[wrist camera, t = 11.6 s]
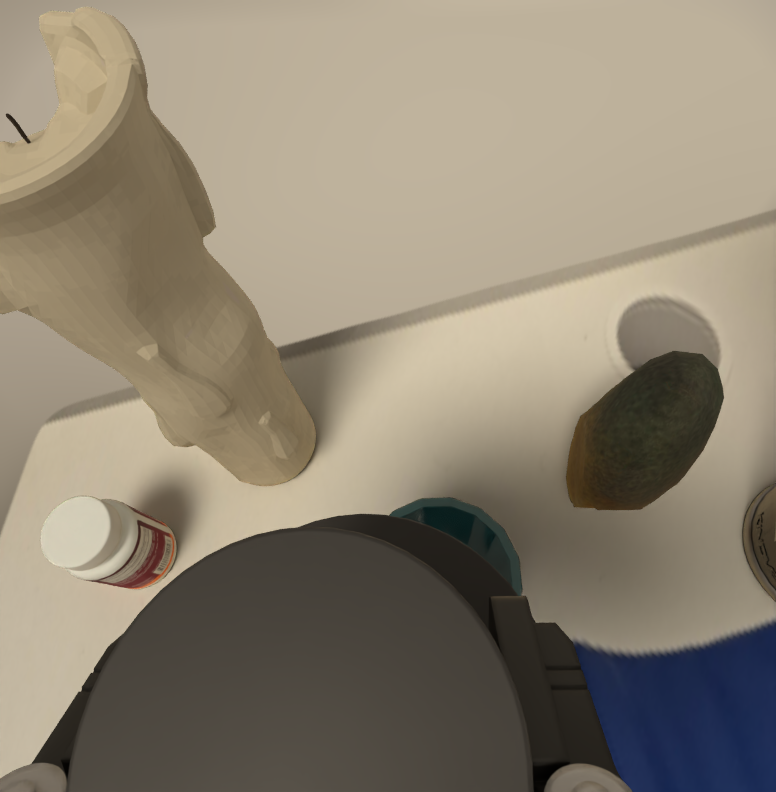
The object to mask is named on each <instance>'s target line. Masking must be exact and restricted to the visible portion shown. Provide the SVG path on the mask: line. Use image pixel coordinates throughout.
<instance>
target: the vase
mask: <svg viewBox="0 0 776 792" xmlns="http://www.w3.org/2000/svg"><path fill="white" fill-rule="evenodd" d="M39 20H40V32H41V34H42V36H43V38H44V41H45V43H46V45H47V48H48V50H49V53H50V55H51V58H52V60H53V63H54V65H55V69H54V75H55V83H56V89H57V93H58V98H59V103H60V105H59V107H58V110H57V111H56V113H55V115H54V117H53V118H52V119H51V120H50V121H49V123H48V125H47V128H46V129H45V130H42V131H39V132H37V133H34V134H32V135H30V136H28V137H27V136H26V135H25V133H24V132H23V130H22V129H21V127H20V126H19V124H18V123H17V122H16V121H15V119H14V118H13V117H12V116H11V115H9V114H6V117H7V118H8V119H9V120H10V121H11V122H12V123H13V125H14V126H15V127H16V129H17V130H18V132H19V133H20V134H21V136H22V137H23V139H22V140H20V141H18V142H15V143H9V142H5V141H3V142H0V314H5V313H9V312H12V311H16V310H18V311H21V312H23V313H25V314H28V315H30V316H32V317H34V318H36V319H38V320H40V321H41V322H43V323H45V324H46V325H47V326H49V327H50V328H51V329H53V330H54V331H55V332H57V333H58V334H60V335H61V336H62V337H64V338H65V339H66V340H68V341H69V342H71V343H72V344H74V345H75V346H77V347H78V348H80V349H82V350H83V351H85V352H86V353H88V354H90V355H91V356H93V357H95V358H97V359H99V360H100V361H102V362H104V363H105V364H107V365H108V366H110V367H112V368H113V369H115V370H116V371H118V372H119V373H120V374H121V375H123V376H124V377H125V378H126V379H127V380H128V381H129V382H130V383H131V384H133V386H134V387H135V388H136V389H137V390H138V391H139V392H140V394H141V397H142V399H143V400H144V402H145V403H146V404H147V405H148V406H149V407H150V408H151V409H152V410H153V411H154V413H155V416H156V419H157V422H158V425H159V428H160V430H161V431H162V433H163V435H164V436H165V438H166V439H167V440H168V441H169V442H170V443H172V444H173V445H174V446H181V447H189V446H193V445H196V446H198V447H199V448H201V449H202V450H204V451H205V452H207V453H208V454H210V455H211V456H212V457H213V458H214V459H216V460H217V461H218V462H219V463H220V464H221V465H223V466H224V467H225V468H226V469H227V470H228V471H230V472H231V473H232V474H233V475H234V476H236V478H237V479H238V480H239V481H242V482H245V483H250V484H253V485H259V486H272V485H277V484H281V483H284V482H287V481H289V480H291V479H292V478H294V477H295V476H296V475H298V474H299V473H300V472H301V471H302V470H303V469H304V467H305V466H306V465H307V463H308V461H309V460H310V458H311V456H312V453H313V451H314V447H315V441H316V431H315V426H314V423H313V420H312V418H311V416H310V414H309V412H308V411H307V409H306V407H305V406H304V404H303V402H302V401H301V399H300V397H299V396H298V394H297V392H296V390H295V389H294V387H293V385H292V384H291V382H290V381H289V379H288V377H287V375H286V373H285V371H284V369H283V367H282V365H281V363H280V357H279V352H278V350H277V349H276V347H275V346H274V344H273V343H272V342H271V341H270V340H269V339H268V338H267V335H266V333H265V330H264V328H263V325H262V322H261V319H260V317H259V315H258V312H257V310H256V309H255V307H254V305H253V304H252V302H251V301H250V299H249V298H248V297H247V296H246V294H245V293H244V292H243V290H242V289H241V288H240V287H239V285H238V284H237V283H236V282H235V281H234V280H233V278H232V277H231V276H230V275H229V274H228V273H227V272H226V270H225V269H224V268H223V267H222V266H221V265H220V264H219V263H218V262H217V261H216V260H215V259H214V258H213V257H212V256H211V255H210V254H209V252H208V251H207V249H206V248H205V246H204V245H203V237H205V236H206V235H208V234H210V233H211V232H212V231H213V230H214V228H215V227H216V225H215V219H214V213H213V209H212V206H211V204H210V201H209V198H208V196H207V193H206V190H205V188H204V186H203V183H202V181H201V179H200V177H199V175H198V173H197V170H196V168H195V166H194V164H193V163H192V161H191V159H190V158H189V156H188V155H187V153H186V152H185V150H184V149H183V147H182V146H181V144H180V143H179V142H178V141H177V140H176V138H175V137H174V136H173V135H172V134H171V133H170V132H169V131H168V130H167V129H166V127H165V126H164V125H162V123H161V122H160V120H159V119H158V118H157V117H156V115H155V114H154V113H153V112H152V110H151V109H150V106H149V103H148V99H147V87H148V85H147V79H146V73H145V67H144V63H143V60H142V57H141V54H140V51H139V50H138V47H137V45H136V42H135V41H134V39H133V38H132V36H131V35H130V33H129V32H128V31H127V29H126V28H125V26H124V25H123V24H121V23H120V22H119V21H118V20H117V19H116V18H115V17H114V16H111V15H108V14H106V13H103V12H101V11H99V10H97V9H95V8H92V7H82V8H79V9H76V11H75V13H72V12H61V11H60V12H59V11H49V12H47V13H45V14H43V15H41V16H40V17H39Z"/></svg>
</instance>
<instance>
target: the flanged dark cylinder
mask: <svg viewBox="0 0 776 792" xmlns="http://www.w3.org/2000/svg"><path fill="white" fill-rule="evenodd" d="M490 596H518V595H517V593H516V592H515V590H514V589H513V588H512V586H511V585H510V584H509V583H508V582H507V581H506V580H505V579H504V577H503V576H502V575H501V574H500V573H499V572H498V571H497V570H496V569H495V568H494V567H493V566H492V565H491V564H490V563H489V562H487V561H486V560H485V559H484V558H483V557H481V556H480V555H479V554H478V553H476V552H475V551H474V550H473V549H471V548H470V547H468V546H467V545H465V544H463V543H462V542H460V541H459V540H457V539H455V538H454V537H452V536H450V535H448V534H446V533H444V532H442V531H440V530H437V529H435V528H433V527H431V526H428V525H425V524H422V523H419V522H416V521H413V520H409V519H405V518H400V517H394V516H388V515H376V514H354V515H343V516H336V517H331V518H327V519H322V520H318V521H314V522H312V523H309V524H306V525H303V526H300V527H298V528H287V529H279V530H275V531H270V532H266V533H261V534H257V535H254V536H251V537H248V538H246V539H243V540H240V541H237V542H234V543H232V544H229V545H227V546H225V547H223V548H222V549H220V550H218V551H216V552H214V553H212V554H210V555H208V556H206V557H204V558H203V559H201V560H200V561H198V562H197V563H195V564H194V565H192V566H191V567H189V568H188V569H186V570H185V571H183V572H182V573H181V574H180V575H178V576H177V577H176V578H175V579H174V580H173V581H171V582H170V583H169V584H168V585H167V586H165V587H164V588H163V589H162V590H161V591H160V592H159V593H158V594H157V595H156V596H155V597H154V598H153V599H152V600H151V601H150V602H149V603H148V604H147V605H146V607H145V608H144V609H143V610H142V611H141V612H140V613H139V614H138V615H137V617H136V618H135V619H134V621H133V622H132V623H131V625H130V626H129V627H128V629H127V630H126V631H125V632H124V634H123V635H122V636H121V638H120V639H119V641H118V643H117V644H116V646H115V648H114V649H113V651H112V653H111V654H110V656H109V657H108V659H107V661H106V662H105V664H104V666H103V668H102V670H101V672H100V674H99V676H98V679H97V681H96V683H95V685H94V687H93V689H92V691H91V693H90V696H89V698H88V701H87V704H86V707H85V710H84V713H83V715H82V718H81V721H80V724H79V727H78V731H77V735H76V739H75V743H74V747H73V751H72V755H71V760H70V766H69V773H68V781H67V788H66V792H534V789H533V763H532V755H531V749H530V742H529V735H528V729H527V724H526V720H525V716H524V713H523V709H522V705H521V701H520V698H519V694H518V691H517V688H516V686H515V683H514V681H513V678H512V676H511V673H510V671H509V668H508V666H507V663H506V661H505V659H504V657H503V655H502V653H501V651H500V650H499V648H498V646H497V644H496V642H495V640H494V638H493V636H492V635H491V633H490V631H489V597H490ZM532 619H533V617H532ZM533 622H534V623H535V621H534V619H533Z"/></svg>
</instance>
